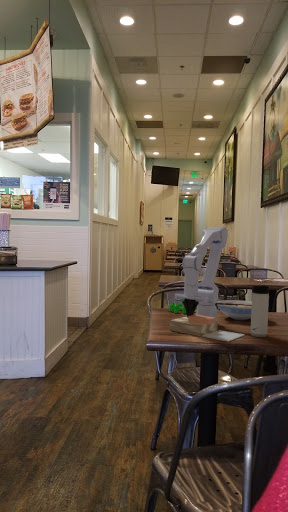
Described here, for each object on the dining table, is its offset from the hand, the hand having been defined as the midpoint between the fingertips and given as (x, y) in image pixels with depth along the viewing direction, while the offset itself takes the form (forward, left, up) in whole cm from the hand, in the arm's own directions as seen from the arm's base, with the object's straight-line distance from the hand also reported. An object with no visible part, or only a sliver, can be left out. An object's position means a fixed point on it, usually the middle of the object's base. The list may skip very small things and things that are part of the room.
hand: (190, 318), depth 164 cm
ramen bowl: (-39, +4, -5) cm, 39 cm away
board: (0, +2, -5) cm, 5 cm away
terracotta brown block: (0, +6, -1) cm, 6 cm away
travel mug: (-11, +25, -5) cm, 28 cm away
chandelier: (-34, -26, -5) cm, 44 cm away
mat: (0, +15, -5) cm, 16 cm away
